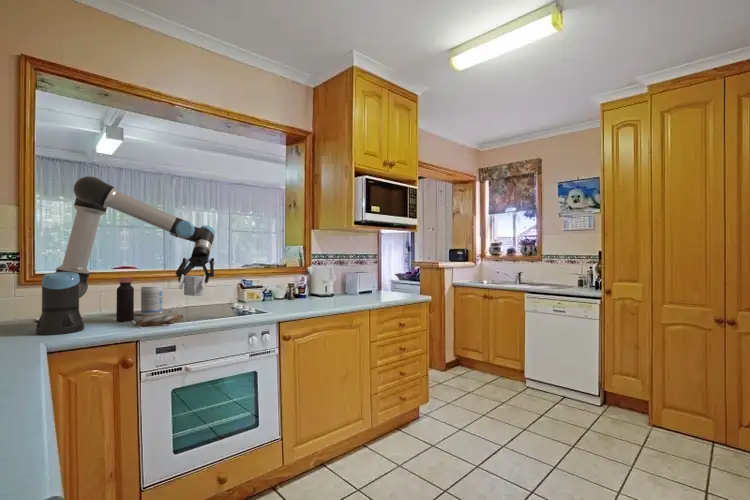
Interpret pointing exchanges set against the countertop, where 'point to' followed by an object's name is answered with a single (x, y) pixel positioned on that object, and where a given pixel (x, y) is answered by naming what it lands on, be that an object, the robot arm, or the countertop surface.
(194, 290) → the medicine box
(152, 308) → the supplement tub
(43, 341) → the countertop surface
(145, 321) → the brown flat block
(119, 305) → the bottle
